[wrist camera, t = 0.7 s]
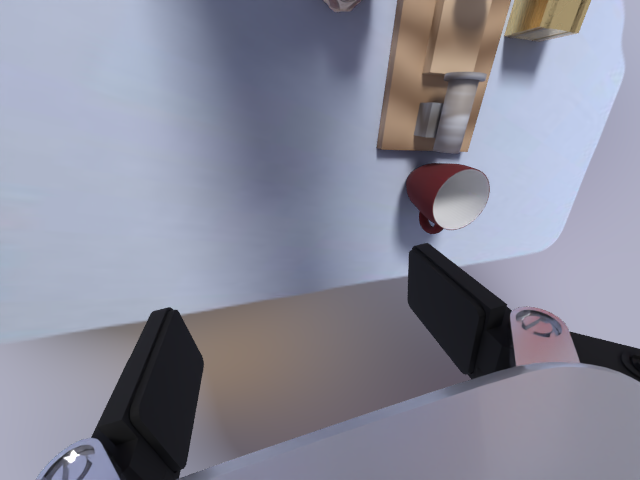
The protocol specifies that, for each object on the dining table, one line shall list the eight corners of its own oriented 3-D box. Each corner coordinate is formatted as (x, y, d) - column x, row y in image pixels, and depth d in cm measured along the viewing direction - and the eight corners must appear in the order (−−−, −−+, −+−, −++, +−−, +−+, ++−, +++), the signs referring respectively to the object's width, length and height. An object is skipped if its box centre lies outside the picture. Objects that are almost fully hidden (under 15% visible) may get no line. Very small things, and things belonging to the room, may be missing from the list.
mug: (437, 213, 46) (481, 239, 37) (393, 223, 44) (428, 252, 36) (442, 150, 41) (495, 162, 32) (393, 159, 39) (434, 175, 31)
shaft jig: (415, -126, 27) (474, -208, 20) (527, -94, 30) (611, -154, 23) (376, 147, 38) (404, 157, 31) (460, 150, 41) (502, 159, 34)
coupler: (503, 36, 35) (539, 27, 31) (518, -14, 33) (559, -32, 29) (539, 42, 37) (578, 33, 32) (555, -7, 34) (599, -23, 30)
